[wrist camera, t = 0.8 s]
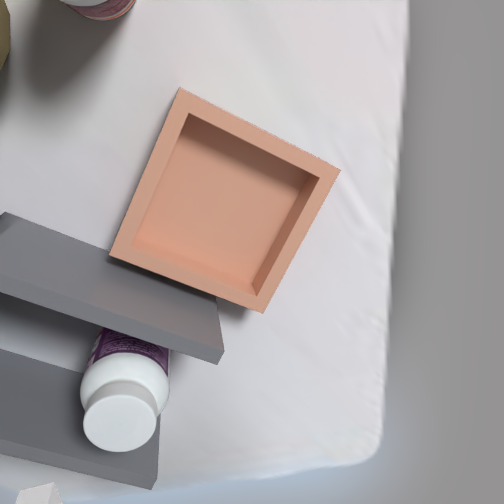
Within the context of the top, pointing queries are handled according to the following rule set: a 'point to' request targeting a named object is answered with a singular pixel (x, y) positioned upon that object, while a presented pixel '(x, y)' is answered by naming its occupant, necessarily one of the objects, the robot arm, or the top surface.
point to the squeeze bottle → (4, 32)
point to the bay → (98, 312)
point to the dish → (222, 204)
